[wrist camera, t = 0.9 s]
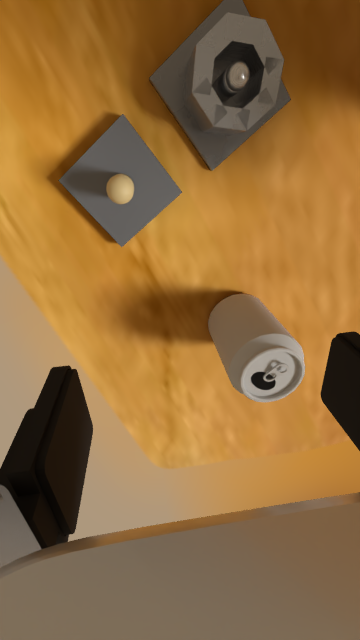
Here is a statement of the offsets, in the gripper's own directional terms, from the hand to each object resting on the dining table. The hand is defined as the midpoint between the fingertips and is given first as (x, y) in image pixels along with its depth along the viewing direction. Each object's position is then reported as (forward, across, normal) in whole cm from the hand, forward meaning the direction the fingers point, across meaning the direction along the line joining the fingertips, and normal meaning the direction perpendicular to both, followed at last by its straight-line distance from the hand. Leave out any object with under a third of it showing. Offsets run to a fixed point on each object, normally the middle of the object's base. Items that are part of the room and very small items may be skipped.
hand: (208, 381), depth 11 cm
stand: (+24, -6, -12) cm, 28 cm away
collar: (+23, -6, -12) cm, 27 cm away
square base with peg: (+24, +4, -5) cm, 25 cm away
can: (+24, -8, +11) cm, 28 cm away
